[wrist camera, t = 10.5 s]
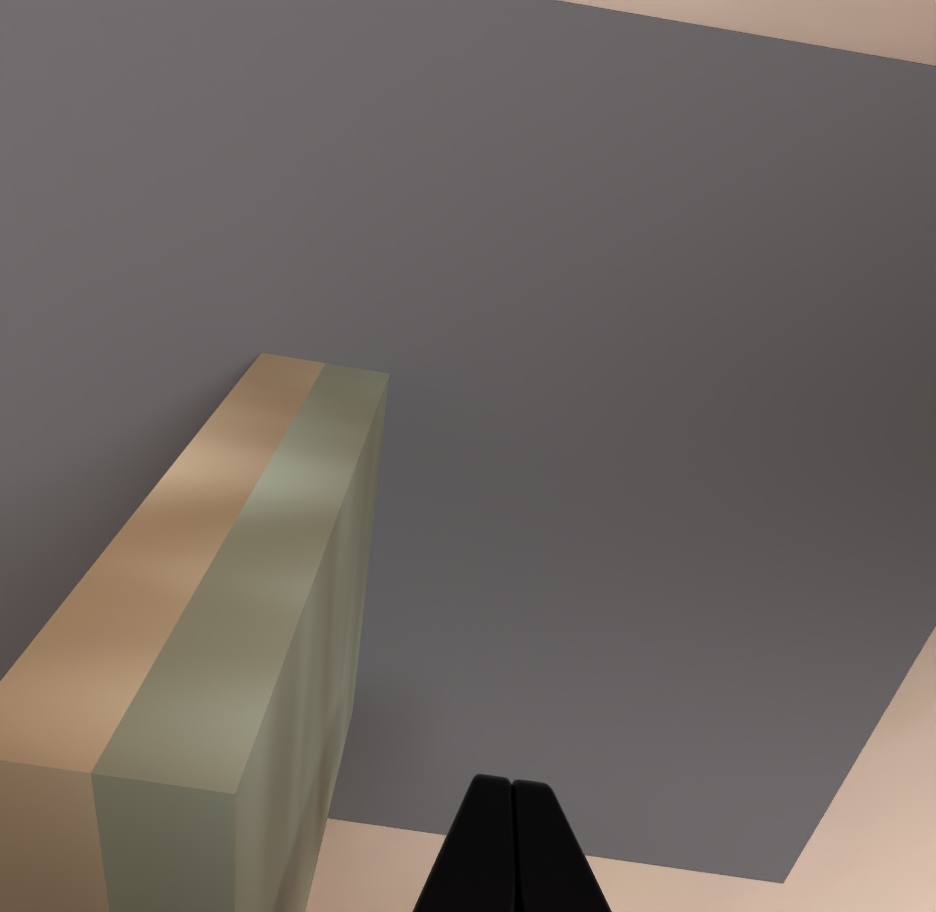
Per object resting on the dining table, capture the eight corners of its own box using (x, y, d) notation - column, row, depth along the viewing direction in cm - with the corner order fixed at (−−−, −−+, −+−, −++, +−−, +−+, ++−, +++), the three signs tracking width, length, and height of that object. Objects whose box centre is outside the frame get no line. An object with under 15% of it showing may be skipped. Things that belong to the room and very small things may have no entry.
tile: (389, 373, 9) (234, 793, 4) (352, 710, 12) (233, 1208, 7) (261, 352, 9) (-57, 752, 4) (254, 696, 12) (62, 1187, 7)
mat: (1203, 114, 8) (1235, 117, 8) (776, 862, 14) (782, 883, 14) (-347, -155, 8) (-389, -164, 7) (-83, 738, 14) (-99, 756, 14)
